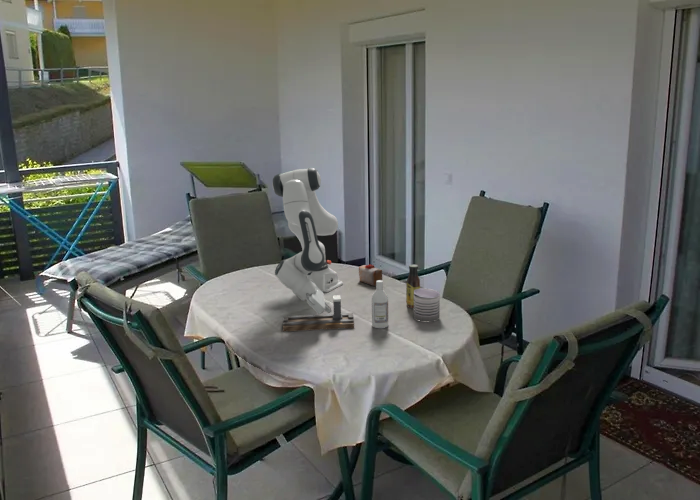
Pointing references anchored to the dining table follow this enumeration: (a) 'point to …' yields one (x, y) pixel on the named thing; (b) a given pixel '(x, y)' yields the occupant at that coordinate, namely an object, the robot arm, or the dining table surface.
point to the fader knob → (337, 307)
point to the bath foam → (379, 307)
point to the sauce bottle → (412, 285)
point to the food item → (369, 274)
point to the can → (426, 304)
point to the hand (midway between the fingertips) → (330, 311)
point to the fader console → (317, 322)
